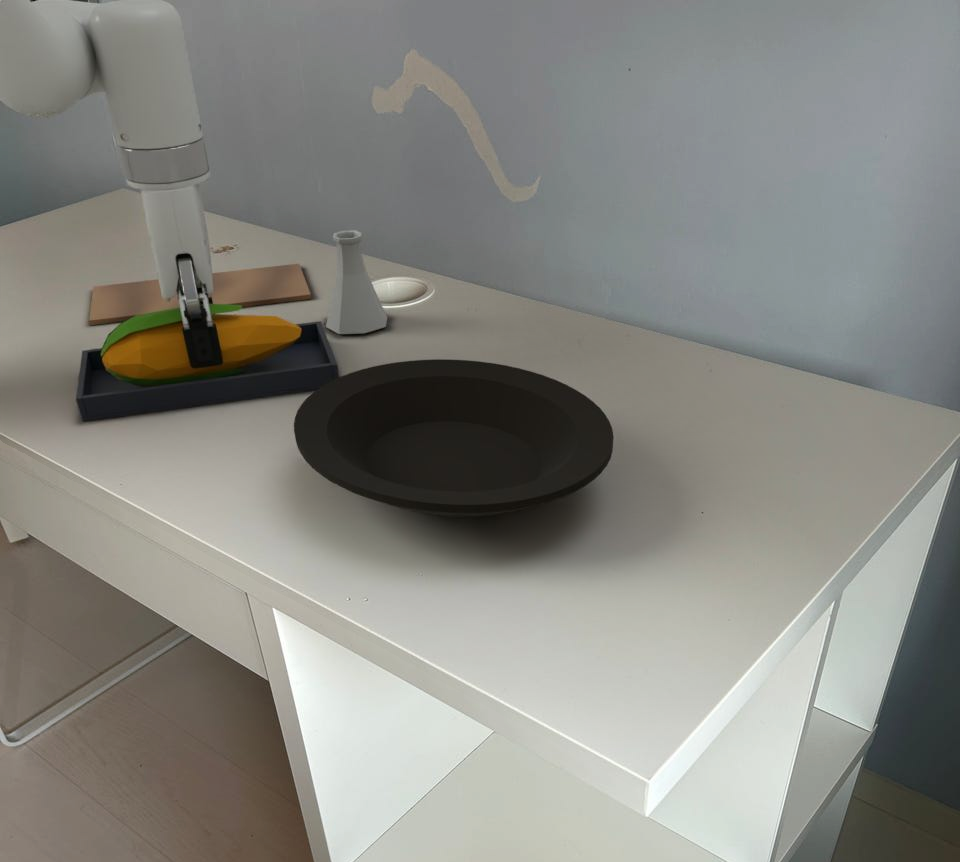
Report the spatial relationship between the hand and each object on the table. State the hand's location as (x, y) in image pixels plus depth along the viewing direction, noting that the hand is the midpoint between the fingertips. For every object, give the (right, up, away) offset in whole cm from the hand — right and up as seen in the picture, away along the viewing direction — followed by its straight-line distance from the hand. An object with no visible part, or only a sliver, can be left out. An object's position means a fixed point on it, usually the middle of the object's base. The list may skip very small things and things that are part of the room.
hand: (205, 349), depth 100 cm
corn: (0, -2, +2) cm, 3 cm away
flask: (+14, +6, +13) cm, 20 cm away
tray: (0, -2, +2) cm, 3 cm away
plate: (+26, -16, -16) cm, 34 cm away
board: (-7, +13, +22) cm, 26 cm away
